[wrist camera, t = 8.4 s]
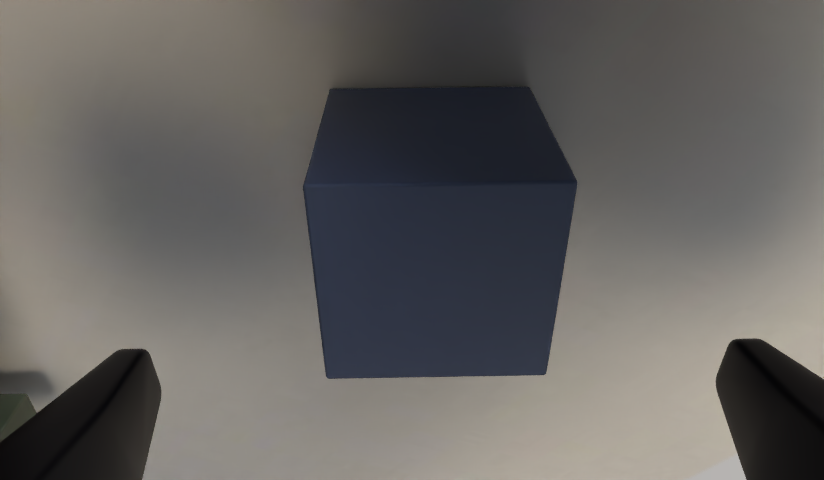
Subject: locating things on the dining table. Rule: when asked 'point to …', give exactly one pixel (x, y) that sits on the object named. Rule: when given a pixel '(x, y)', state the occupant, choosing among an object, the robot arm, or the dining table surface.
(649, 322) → the dining table surface
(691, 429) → the dining table surface
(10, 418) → the drawer
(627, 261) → the dining table surface
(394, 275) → the block
